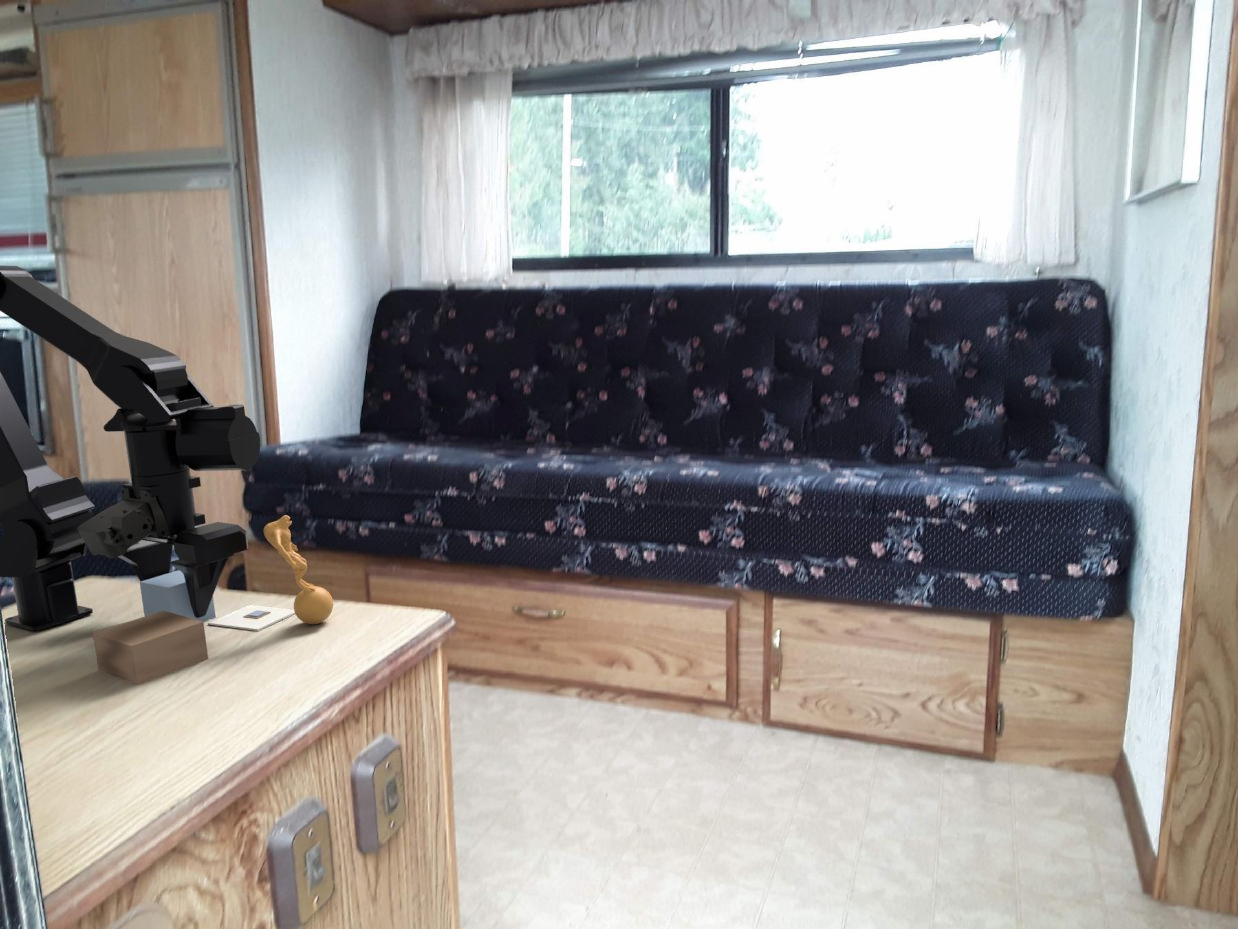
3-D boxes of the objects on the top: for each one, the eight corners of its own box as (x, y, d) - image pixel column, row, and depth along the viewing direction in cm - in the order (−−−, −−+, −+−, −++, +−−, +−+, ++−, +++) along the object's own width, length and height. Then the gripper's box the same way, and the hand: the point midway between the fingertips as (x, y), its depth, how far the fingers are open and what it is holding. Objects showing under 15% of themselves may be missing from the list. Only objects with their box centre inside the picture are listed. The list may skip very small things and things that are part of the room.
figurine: (337, 632, 96) (325, 519, 94) (275, 642, 94) (261, 526, 92) (332, 608, 104) (321, 503, 102) (275, 617, 102) (262, 509, 100)
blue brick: (146, 626, 102) (139, 582, 101) (187, 612, 106) (181, 569, 105) (174, 633, 99) (168, 587, 98) (215, 618, 103) (210, 574, 102)
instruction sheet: (208, 624, 101) (207, 621, 101) (249, 606, 106) (249, 603, 106) (258, 631, 98) (257, 627, 98) (298, 612, 103) (298, 608, 103)
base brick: (98, 672, 89) (92, 633, 89) (168, 648, 95) (163, 610, 94) (138, 687, 85) (131, 646, 85) (208, 661, 91) (203, 621, 90)
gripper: (34, 480, 97) (57, 623, 100) (141, 493, 88) (163, 651, 91) (135, 461, 107) (154, 593, 110) (242, 471, 97) (259, 615, 100)
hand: (179, 612), depth 102 cm, fingers open, 7 cm apart
